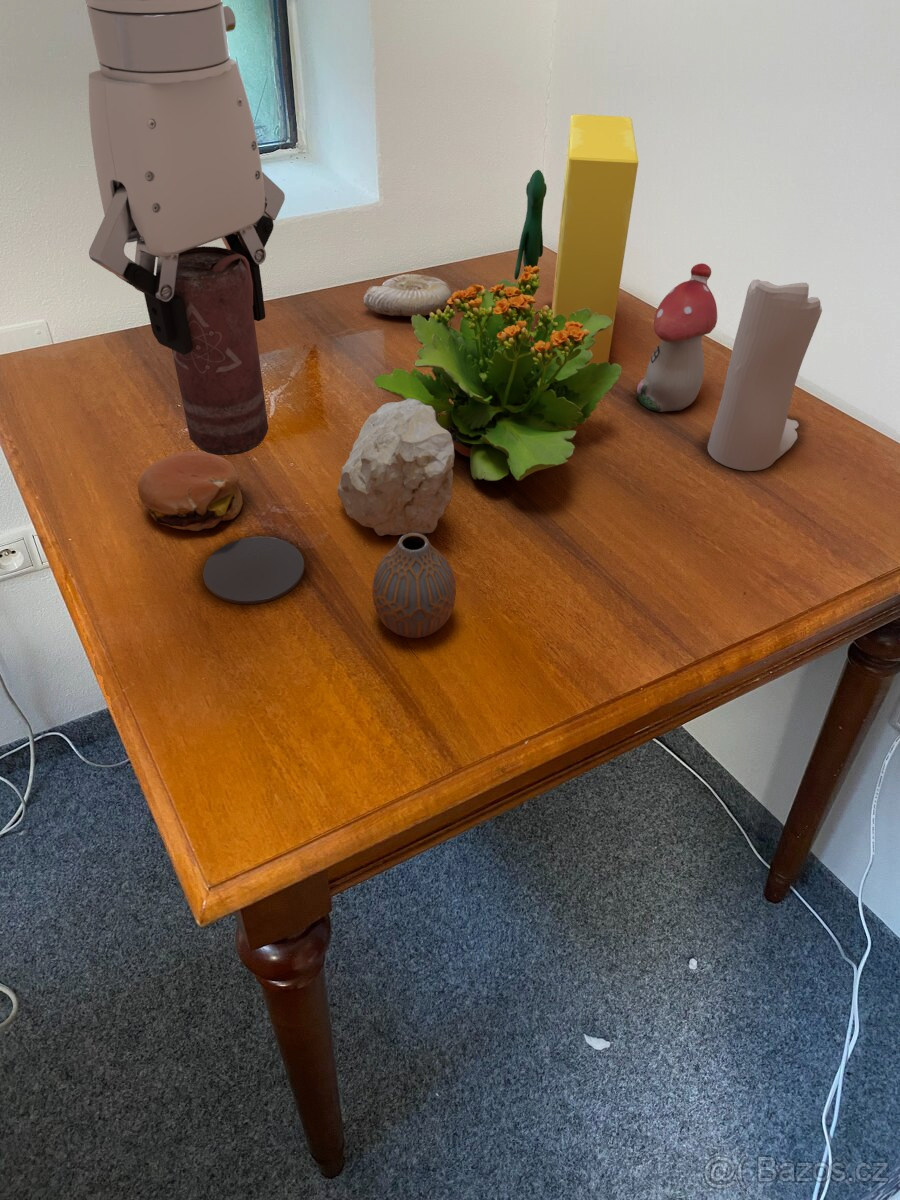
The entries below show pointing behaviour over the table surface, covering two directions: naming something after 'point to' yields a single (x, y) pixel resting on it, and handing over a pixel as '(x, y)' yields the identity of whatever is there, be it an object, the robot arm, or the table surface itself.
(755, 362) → the candle
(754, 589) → the table surface
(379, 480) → the stone
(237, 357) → the can
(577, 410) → the potted flower
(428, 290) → the fossil
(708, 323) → the decorative ornament
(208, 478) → the burger
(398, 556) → the vase
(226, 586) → the coaster
